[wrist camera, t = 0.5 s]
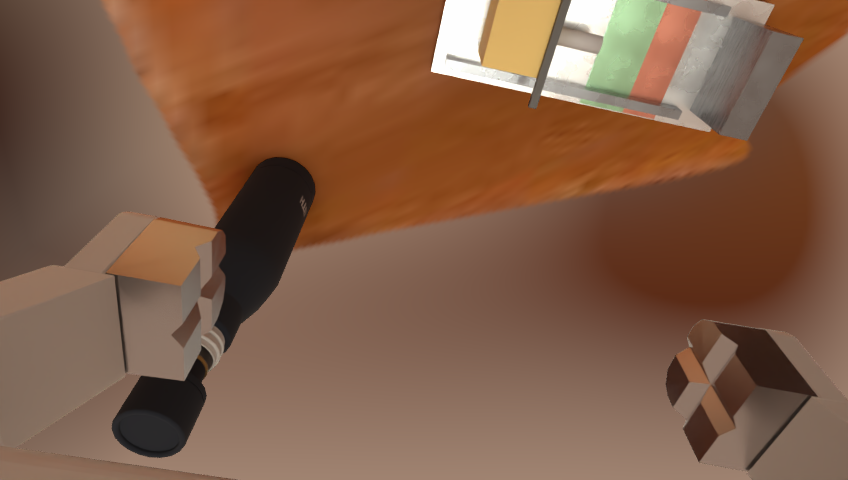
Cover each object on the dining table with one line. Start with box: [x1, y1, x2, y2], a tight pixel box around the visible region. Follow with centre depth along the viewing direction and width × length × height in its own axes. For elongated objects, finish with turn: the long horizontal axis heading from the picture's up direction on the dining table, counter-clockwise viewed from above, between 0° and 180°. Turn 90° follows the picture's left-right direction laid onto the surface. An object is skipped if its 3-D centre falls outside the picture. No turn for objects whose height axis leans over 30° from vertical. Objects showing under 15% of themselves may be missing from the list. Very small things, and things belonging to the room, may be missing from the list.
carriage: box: [478, 0, 603, 109], centre depth 42 cm, size 10×9×5 cm
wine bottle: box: [112, 157, 315, 458], centre depth 42 cm, size 6×6×30 cm
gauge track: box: [431, 0, 803, 140], centre depth 43 cm, size 11×26×7 cm, turn 78°
